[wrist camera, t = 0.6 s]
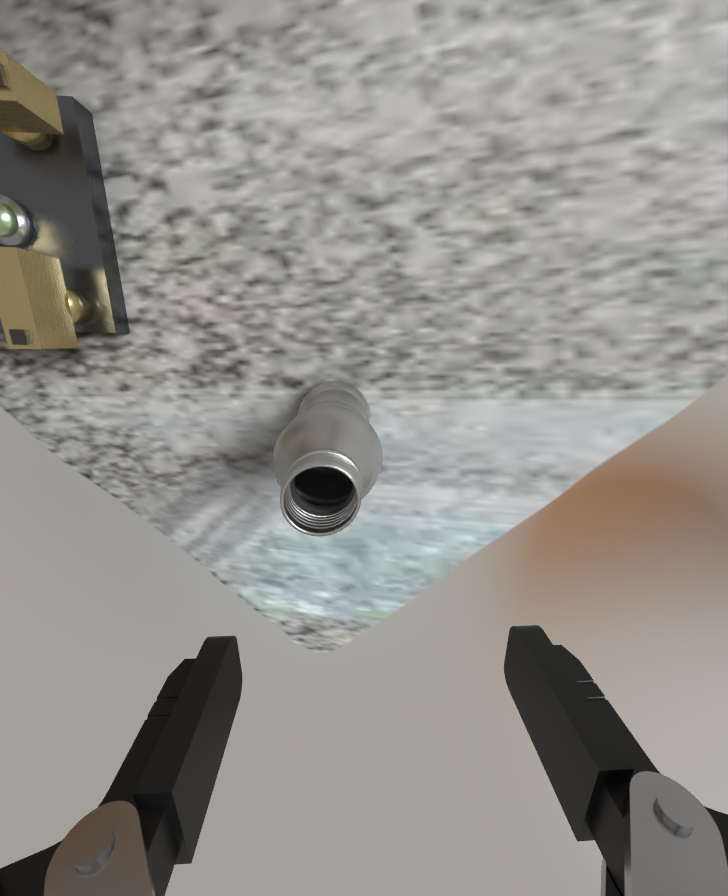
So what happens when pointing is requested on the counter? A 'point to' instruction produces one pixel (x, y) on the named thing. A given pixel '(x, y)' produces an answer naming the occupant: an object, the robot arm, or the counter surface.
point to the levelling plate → (65, 213)
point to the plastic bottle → (327, 459)
